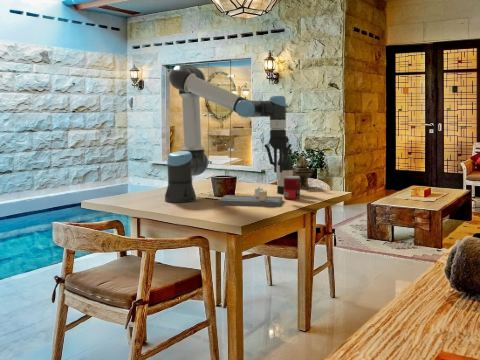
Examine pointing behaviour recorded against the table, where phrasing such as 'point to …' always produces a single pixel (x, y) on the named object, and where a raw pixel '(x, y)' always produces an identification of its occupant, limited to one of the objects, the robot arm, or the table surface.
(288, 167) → the wine bottle
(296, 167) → the potted plant
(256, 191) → the fader
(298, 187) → the canned food
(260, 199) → the fader
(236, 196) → the console
